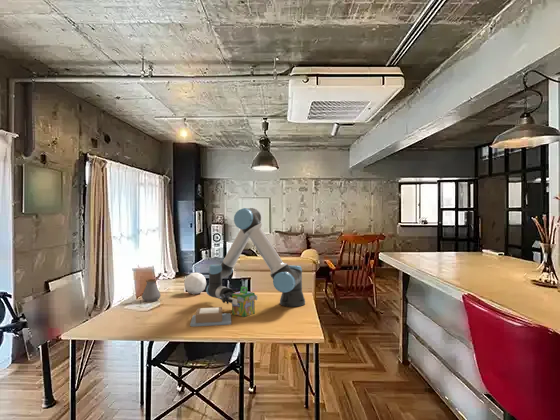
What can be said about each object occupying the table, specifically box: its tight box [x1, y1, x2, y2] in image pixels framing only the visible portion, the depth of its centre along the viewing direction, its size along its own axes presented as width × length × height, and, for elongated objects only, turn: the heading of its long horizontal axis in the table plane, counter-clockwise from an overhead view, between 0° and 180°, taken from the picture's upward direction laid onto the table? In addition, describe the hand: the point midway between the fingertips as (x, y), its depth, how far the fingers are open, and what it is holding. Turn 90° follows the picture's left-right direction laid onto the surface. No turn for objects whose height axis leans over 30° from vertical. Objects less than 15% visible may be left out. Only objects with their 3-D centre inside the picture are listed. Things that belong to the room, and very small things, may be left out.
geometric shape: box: [183, 271, 207, 295], centre depth 268 cm, size 14×15×15 cm
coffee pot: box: [141, 272, 163, 302], centre depth 254 cm, size 21×12×15 cm, turn 173°
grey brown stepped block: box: [189, 306, 232, 327], centre depth 203 cm, size 20×16×6 cm
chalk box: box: [231, 286, 256, 318], centre depth 215 cm, size 9×9×15 cm
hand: (247, 299), depth 213 cm, fingers open, 13 cm apart
